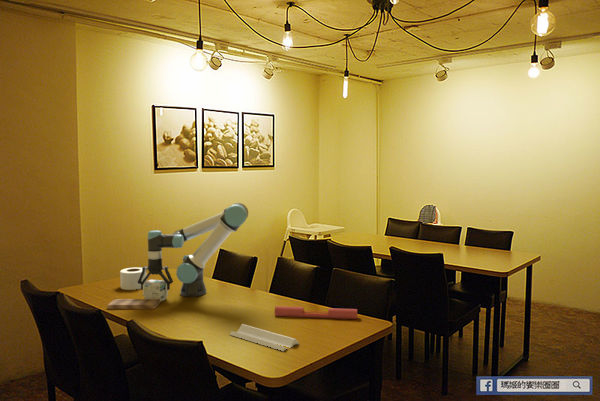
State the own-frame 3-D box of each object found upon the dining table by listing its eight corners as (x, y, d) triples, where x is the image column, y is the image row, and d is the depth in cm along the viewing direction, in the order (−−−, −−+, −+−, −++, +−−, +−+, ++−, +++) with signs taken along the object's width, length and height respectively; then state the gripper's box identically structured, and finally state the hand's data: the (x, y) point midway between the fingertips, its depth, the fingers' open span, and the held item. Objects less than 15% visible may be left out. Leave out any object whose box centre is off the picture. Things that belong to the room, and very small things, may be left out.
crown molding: (229, 336, 220) (229, 328, 220) (247, 329, 230) (247, 322, 229) (283, 353, 201) (283, 344, 201) (300, 344, 211) (300, 336, 211)
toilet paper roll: (141, 290, 296) (141, 272, 295) (116, 289, 296) (116, 272, 295) (150, 283, 311) (149, 267, 310) (126, 283, 311) (125, 267, 310)
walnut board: (160, 302, 269) (160, 298, 269) (155, 308, 258) (155, 304, 258) (114, 303, 268) (114, 299, 268) (107, 308, 257) (107, 304, 257)
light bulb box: (167, 299, 277) (166, 280, 276) (160, 302, 270) (159, 283, 270) (151, 297, 280) (151, 278, 279) (144, 300, 274) (143, 281, 273)
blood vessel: (274, 317, 247) (274, 307, 246) (275, 314, 252) (275, 305, 251) (357, 320, 243) (357, 310, 242) (357, 317, 248) (357, 307, 247)
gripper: (178, 256, 278) (178, 293, 279) (135, 256, 277) (136, 293, 278) (175, 259, 270) (175, 297, 272) (131, 259, 269) (132, 297, 271)
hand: (155, 295), depth 275 cm, fingers closed on light bulb box, 12 cm apart
